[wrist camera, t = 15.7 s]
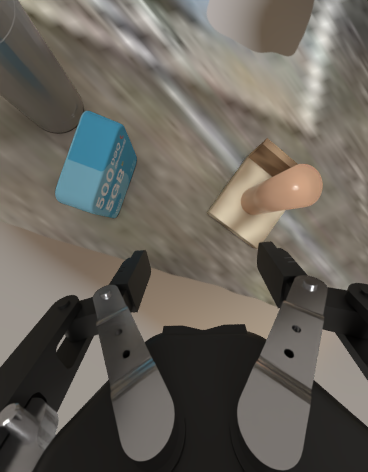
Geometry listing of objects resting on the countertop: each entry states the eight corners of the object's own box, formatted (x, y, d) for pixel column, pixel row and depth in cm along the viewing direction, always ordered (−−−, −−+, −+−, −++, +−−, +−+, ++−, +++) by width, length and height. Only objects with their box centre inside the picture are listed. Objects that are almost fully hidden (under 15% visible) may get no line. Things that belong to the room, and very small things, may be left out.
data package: (117, 219, 33) (88, 213, 21) (93, 210, 32) (50, 199, 20) (138, 159, 33) (121, 118, 21) (114, 150, 32) (84, 103, 20)
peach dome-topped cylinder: (235, 204, 33) (274, 189, 21) (251, 182, 33) (299, 155, 21) (256, 220, 33) (306, 215, 21) (271, 198, 33) (330, 181, 21)
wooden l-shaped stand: (206, 213, 34) (216, 208, 27) (246, 156, 35) (267, 138, 28) (252, 247, 35) (273, 252, 29) (291, 192, 36) (321, 184, 29)
